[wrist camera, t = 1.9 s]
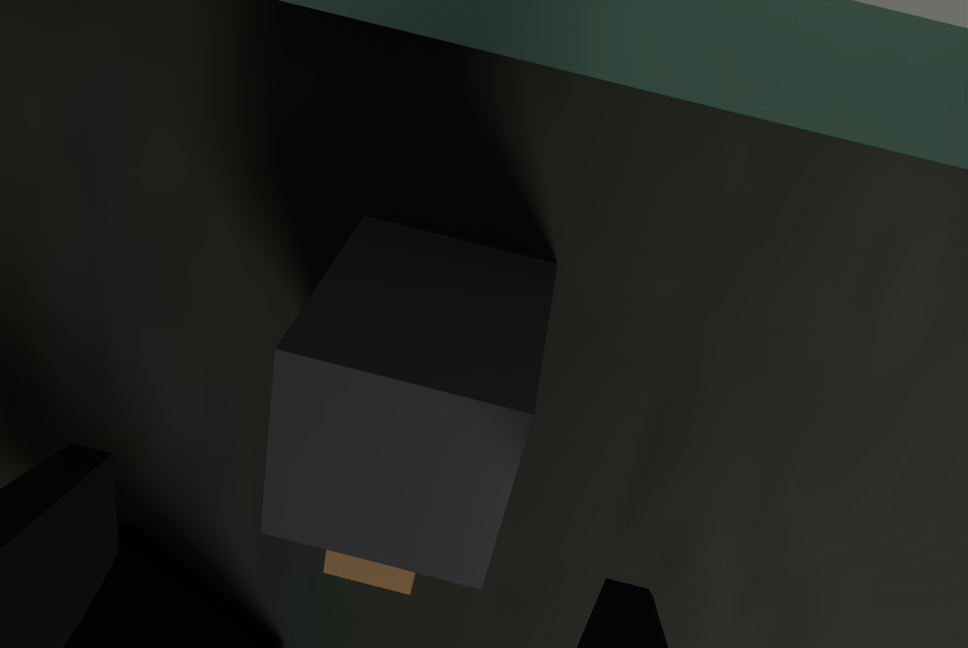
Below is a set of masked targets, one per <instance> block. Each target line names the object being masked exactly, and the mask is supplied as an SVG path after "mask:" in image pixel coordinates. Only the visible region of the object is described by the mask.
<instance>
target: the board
mask: <svg viewBox="0 0 968 648" xmlns="http://www.w3.org/2000/svg"><path fill="white" fill-rule="evenodd" d="M280 1H284V2H288V3H292V4H296V5H300V6H304V7H309V8H313V9H317V10H321V11H325V12H329V13H333V14H337V15H341V16H345V17H349V18H353V19H357V20H361V21H366V22H370V23H374V24H378V25H382V26H386V27H390V28H394V29H398V30H402V31H406V32H410V33H414V34H418V35H423V36H427V37H431V38H435V39H439V40H443V41H447V42H451V43H455V44H459V45H463V46H467V47H471V48H476V49H480V50H484V51H488V52H492V53H496V54H500V55H504V56H508V57H512V58H516V59H520V60H524V61H528V62H533V63H537V64H541V65H545V66H549V67H553V68H557V69H561V70H565V71H569V72H573V73H577V74H581V75H585V76H590V77H594V78H598V79H602V80H606V81H610V82H614V83H618V84H622V85H626V86H630V87H634V88H638V89H642V90H647V91H651V92H655V93H659V94H663V95H667V96H671V97H675V98H679V99H683V100H687V101H691V102H695V103H700V104H704V105H708V106H712V107H716V108H720V109H724V110H728V111H732V112H736V113H740V114H744V115H748V116H752V117H757V118H761V119H765V120H769V121H773V122H777V123H781V124H785V125H789V126H793V127H797V128H801V129H805V130H809V131H814V132H818V133H822V134H826V135H830V136H834V137H838V138H842V139H846V140H850V141H854V142H858V143H862V144H867V145H871V146H875V147H879V148H883V149H887V150H891V151H895V152H899V153H903V154H907V155H911V156H915V157H919V158H924V159H928V160H932V161H936V162H940V163H944V164H948V165H952V166H956V167H960V168H964V169H968V0H280Z"/></svg>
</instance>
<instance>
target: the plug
mask: <svg viewBox="0 0 968 648" xmlns="http://www.w3.org/2000/svg"><path fill="white" fill-rule="evenodd" d="M556 269H557V263H554V262H550V261H546V260H542V259H538V258H534V257H530V256H526V255H522V254H518V253H514V252H510V251H506V250H502V249H498V248H494V247H490V246H486V245H482V244H478V243H474V242H470V241H466V240H462V239H458V238H454V237H450V236H446V235H442V234H438V233H434V232H430V231H426V230H422V229H418V228H414V227H410V226H406V225H402V224H398V223H394V222H390V221H386V220H382V219H378V218H374V217H370V216H366V215H364V216H363V217H362V219H361V220H360V222H359V223H358V225H357V226H356V228H355V229H354V231H353V232H352V234H351V235H350V237H349V238H348V240H347V241H346V243H345V245H344V246H343V248H342V249H341V251H340V252H339V254H338V255H337V257H336V258H335V260H334V261H333V263H332V264H331V266H330V267H329V269H328V270H327V272H326V273H325V275H324V276H323V278H322V279H321V281H320V282H319V284H318V285H317V287H316V288H315V290H314V291H313V293H312V294H311V296H310V297H309V299H308V300H307V302H306V303H305V305H304V306H303V308H302V309H301V311H300V312H299V314H298V315H297V317H296V318H295V320H294V321H293V323H292V324H291V326H290V327H289V329H288V331H287V332H286V334H285V335H284V337H283V338H282V340H281V341H280V343H279V344H278V346H277V347H276V349H275V358H274V371H273V383H272V396H271V409H270V421H269V434H268V447H267V459H266V472H265V484H264V497H263V510H262V522H261V533H264V534H268V535H271V536H275V537H279V538H283V539H287V540H291V541H295V542H299V543H302V544H306V545H310V546H314V547H318V548H322V549H326V550H327V551H326V558H325V565H324V573H327V574H331V575H335V576H339V577H343V578H347V579H351V580H354V581H358V582H362V583H366V584H370V585H374V586H378V587H382V588H385V589H389V590H393V591H397V592H401V593H405V594H409V595H410V592H411V589H412V585H413V582H414V578H415V574H416V573H419V574H423V575H426V576H430V577H434V578H438V579H442V580H446V581H450V582H454V583H458V584H461V585H465V586H469V587H473V588H477V589H482V586H483V583H484V579H485V576H486V573H487V569H488V566H489V563H490V559H491V556H492V553H493V549H494V546H495V543H496V539H497V536H498V533H499V529H500V526H501V523H502V519H503V516H504V513H505V509H506V506H507V503H508V499H509V496H510V493H511V489H512V486H513V482H514V479H515V476H516V472H517V469H518V466H519V462H520V459H521V456H522V452H523V449H524V446H525V442H526V439H527V436H528V432H529V429H530V426H531V422H532V419H533V416H534V410H535V404H536V398H537V391H538V385H539V378H540V372H541V366H542V359H543V353H544V346H545V340H546V334H547V327H548V321H549V314H550V308H551V301H552V295H553V289H554V282H555V276H556Z"/></svg>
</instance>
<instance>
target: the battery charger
mask: <svg viewBox="0 0 968 648" xmlns="http://www.w3.org/2000/svg"><path fill="white" fill-rule="evenodd" d="M117 530H118V547H119V552H118V554H117V556H116V558H115V560H114V562H113V563H112V565H111V567H110V569H109V571H108V573H107V575H106V577H105V579H104V581H103V583H102V585H101V586H100V588H99V590H98V592H97V594H96V596H95V597H94V599H93V601H92V603H91V605H90V606H89V608H88V610H87V612H86V614H85V615H84V617H83V619H82V620H81V622H80V623H79V624H78V626H77V627H76V629H75V630H74V632H73V633H72V635H71V636H70V638H69V639H68V641H67V642H66V643H65V645H64V646H63V648H272V647H271V646H270V645H269V644H268V643H267V642H266V641H265V640H264V639H263V638H262V637H260V636H259V635H258V634H257V633H256V632H255V631H254V630H253V629H252V628H251V627H249V626H248V625H247V624H246V623H245V622H244V621H242V620H241V619H240V618H239V617H238V616H237V615H235V614H234V613H233V612H232V611H231V610H230V609H228V608H227V607H226V606H225V605H224V604H223V603H221V602H220V601H219V600H218V599H217V598H216V597H214V596H213V595H212V594H211V593H210V592H208V591H207V590H206V589H205V588H203V587H202V586H201V585H200V584H198V583H197V582H196V581H195V580H193V579H192V578H191V577H190V576H188V575H187V574H186V573H184V572H183V571H182V570H181V569H179V568H178V567H177V566H176V565H174V564H173V563H172V562H171V561H169V560H168V559H167V558H165V557H164V556H163V555H162V554H160V553H159V552H157V551H156V550H155V549H153V548H152V547H151V546H149V545H148V544H147V543H145V542H144V541H142V540H141V539H140V538H138V537H137V536H136V535H134V534H133V533H131V532H130V531H129V530H127V529H125V528H117Z"/></svg>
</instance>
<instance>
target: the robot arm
mask: <svg viewBox="0 0 968 648" xmlns="http://www.w3.org/2000/svg"><path fill="white" fill-rule="evenodd" d="M118 552H119V547H118V530H117V512H116V494H115V477H114V459H113V454H112V453H108V452H104V451H100V450H96V449H92V448H88V447H84V446H80V445H76V444H70V445H69V446H67V447H65V448H64V449H62V450H60V451H59V452H57V453H56V454H54V455H52V456H51V457H49V458H48V459H46V460H44V461H43V462H41V463H40V464H38V465H37V466H35V467H34V468H32V469H30V470H29V471H27V472H26V473H24V474H23V475H21V476H20V477H18V478H17V479H15V480H13V481H12V482H10V483H9V484H7V485H6V486H4V487H3V488H1V489H0V648H63V646H64V645H65V643H66V642H67V641H68V639H69V638H70V636H71V635H72V633H73V632H74V630H75V629H76V627H77V626H78V624H79V623H80V622H81V620H82V619H83V617H84V615H85V614H86V612H87V610H88V608H89V606H90V605H91V603H92V601H93V599H94V597H95V596H96V594H97V592H98V590H99V588H100V586H101V585H102V583H103V581H104V579H105V577H106V575H107V573H108V571H109V569H110V567H111V565H112V563H113V562H114V560H115V558H116V556H117V554H118ZM577 648H668V645H667V642H666V639H665V636H664V632H663V629H662V626H661V623H660V619H659V616H658V612H657V609H656V605H655V602H654V598H653V596H652V594H651V592H650V591H649V589H647V588H643V587H639V586H635V585H631V584H627V583H623V582H619V581H615V580H611V579H607V578H606V579H605V582H604V584H603V587H602V589H601V591H600V594H599V596H598V599H597V601H596V603H595V606H594V608H593V610H592V613H591V615H590V618H589V620H588V622H587V625H586V627H585V630H584V632H583V634H582V637H581V639H580V641H579V644H578V646H577Z"/></svg>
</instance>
